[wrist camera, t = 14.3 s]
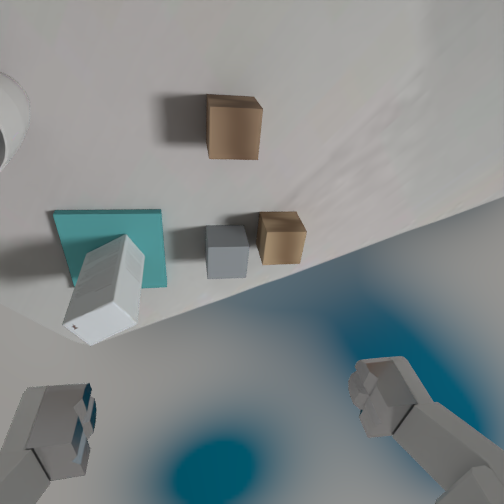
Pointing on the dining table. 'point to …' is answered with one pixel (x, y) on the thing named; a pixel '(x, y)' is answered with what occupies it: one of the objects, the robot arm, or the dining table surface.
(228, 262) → the slate grey block
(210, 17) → the dining table surface
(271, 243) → the light brown wooden cube
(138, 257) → the skincare box
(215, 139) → the walnut block
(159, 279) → the teal mat
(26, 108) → the cup
